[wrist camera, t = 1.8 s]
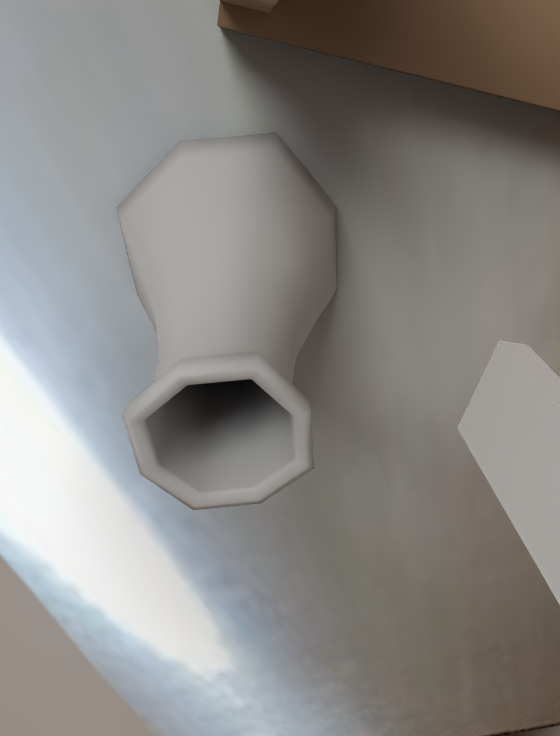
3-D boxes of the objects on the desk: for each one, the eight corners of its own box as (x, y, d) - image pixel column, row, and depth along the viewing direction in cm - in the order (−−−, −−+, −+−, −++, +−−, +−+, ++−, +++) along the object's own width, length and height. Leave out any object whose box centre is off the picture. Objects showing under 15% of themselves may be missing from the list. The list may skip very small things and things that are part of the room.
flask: (292, 86, 15) (360, 140, 6) (367, 297, 18) (473, 511, 10) (76, 190, 16) (-116, 355, 7) (188, 369, 19) (146, 616, 11)
